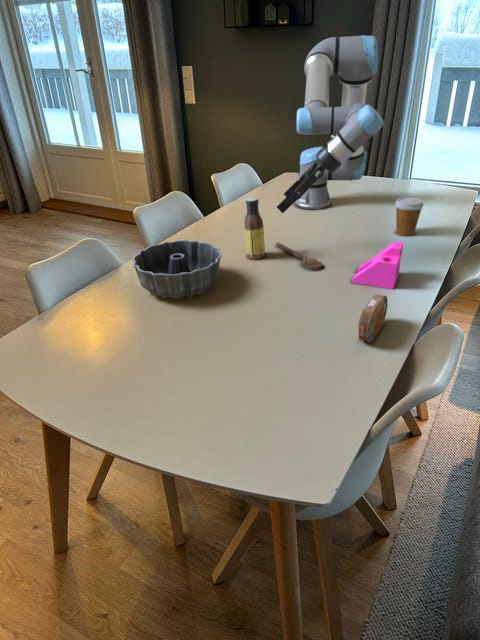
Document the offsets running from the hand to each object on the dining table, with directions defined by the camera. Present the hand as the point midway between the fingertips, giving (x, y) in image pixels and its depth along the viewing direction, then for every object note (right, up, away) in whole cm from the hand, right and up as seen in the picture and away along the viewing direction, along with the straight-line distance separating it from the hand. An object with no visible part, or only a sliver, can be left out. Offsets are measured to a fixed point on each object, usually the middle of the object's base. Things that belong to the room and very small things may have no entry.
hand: (283, 203), depth 148 cm
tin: (+19, -40, -31) cm, 54 cm away
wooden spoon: (+6, -16, +9) cm, 19 cm away
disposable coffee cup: (+47, -5, +24) cm, 53 cm away
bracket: (+27, -25, -6) cm, 37 cm away
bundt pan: (-32, -27, -4) cm, 42 cm away
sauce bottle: (-8, -15, +12) cm, 21 cm away
